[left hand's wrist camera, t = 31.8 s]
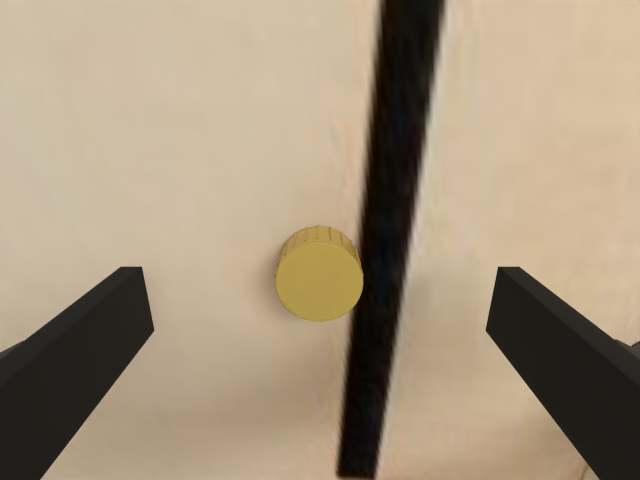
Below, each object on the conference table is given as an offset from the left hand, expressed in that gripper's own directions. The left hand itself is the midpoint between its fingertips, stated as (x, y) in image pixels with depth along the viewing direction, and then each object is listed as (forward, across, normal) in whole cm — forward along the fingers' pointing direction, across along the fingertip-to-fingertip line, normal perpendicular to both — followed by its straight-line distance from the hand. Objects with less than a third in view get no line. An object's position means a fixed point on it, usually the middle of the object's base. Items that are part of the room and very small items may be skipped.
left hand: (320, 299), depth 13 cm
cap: (+2, 0, 0) cm, 2 cm away
